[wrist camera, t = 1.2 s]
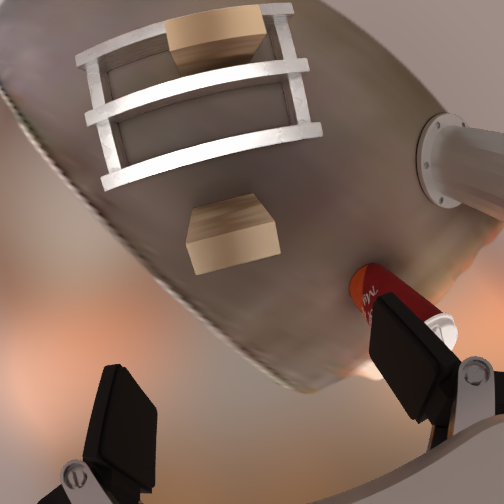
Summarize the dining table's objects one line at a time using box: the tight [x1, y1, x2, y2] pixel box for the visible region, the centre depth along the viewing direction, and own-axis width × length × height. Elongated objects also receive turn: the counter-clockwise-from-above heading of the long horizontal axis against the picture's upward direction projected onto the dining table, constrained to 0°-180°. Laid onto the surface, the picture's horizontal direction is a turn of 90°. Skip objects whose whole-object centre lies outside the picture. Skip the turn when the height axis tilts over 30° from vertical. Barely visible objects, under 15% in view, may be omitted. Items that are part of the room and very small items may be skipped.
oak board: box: [164, 5, 267, 78], centre depth 17 cm, size 6×2×9 cm, turn 102°
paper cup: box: [349, 263, 458, 350], centre depth 27 cm, size 8×8×14 cm
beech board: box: [186, 193, 281, 275], centre depth 23 cm, size 6×2×9 cm, turn 102°
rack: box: [75, 3, 323, 191], centre depth 20 cm, size 18×12×5 cm
